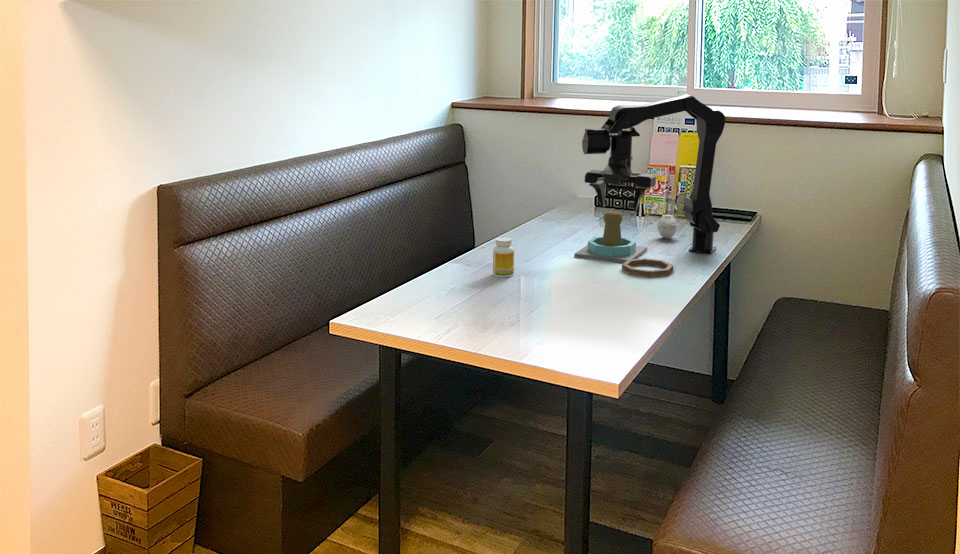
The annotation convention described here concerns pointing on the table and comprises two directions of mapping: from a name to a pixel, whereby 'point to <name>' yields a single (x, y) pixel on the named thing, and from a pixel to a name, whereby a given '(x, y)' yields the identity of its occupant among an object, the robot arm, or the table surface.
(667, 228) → the frog figurine
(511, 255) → the supplement bottle
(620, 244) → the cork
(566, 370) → the table surface
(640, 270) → the walnut ring
